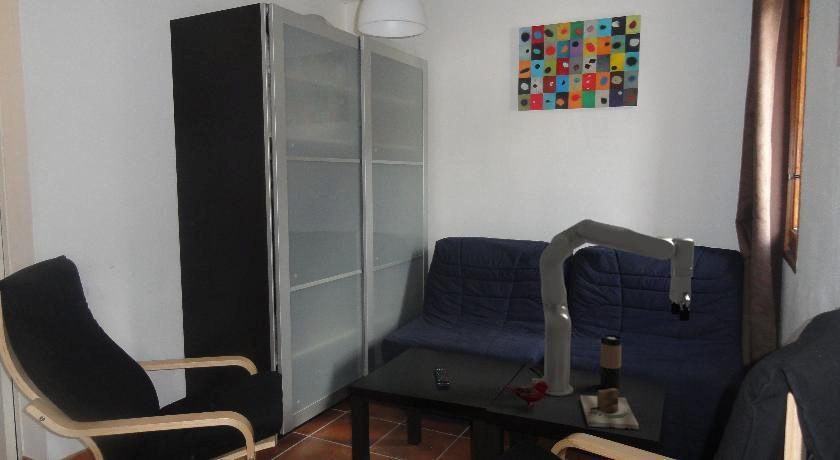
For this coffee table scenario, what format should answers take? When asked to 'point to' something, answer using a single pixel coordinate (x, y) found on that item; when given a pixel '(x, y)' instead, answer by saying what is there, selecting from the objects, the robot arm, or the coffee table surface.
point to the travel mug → (610, 362)
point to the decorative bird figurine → (531, 392)
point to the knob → (607, 400)
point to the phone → (538, 370)
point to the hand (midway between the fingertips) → (679, 317)
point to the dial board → (608, 414)
